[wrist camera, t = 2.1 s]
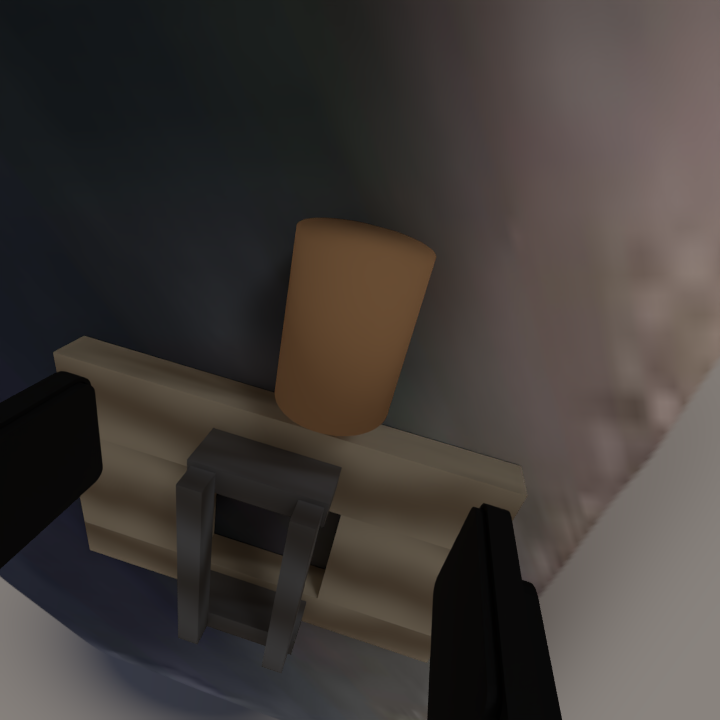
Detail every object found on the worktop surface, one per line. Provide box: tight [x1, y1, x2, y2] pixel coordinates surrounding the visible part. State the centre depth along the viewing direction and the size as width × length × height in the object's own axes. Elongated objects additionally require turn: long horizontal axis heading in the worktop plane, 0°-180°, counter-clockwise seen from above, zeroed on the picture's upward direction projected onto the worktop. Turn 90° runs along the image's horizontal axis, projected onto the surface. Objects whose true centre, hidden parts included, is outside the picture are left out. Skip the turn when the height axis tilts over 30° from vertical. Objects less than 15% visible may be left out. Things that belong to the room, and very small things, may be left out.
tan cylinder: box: [275, 218, 436, 436], centre depth 16 cm, size 7×5×5 cm
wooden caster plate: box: [53, 336, 527, 673], centre depth 23 cm, size 16×24×6 cm, turn 77°
